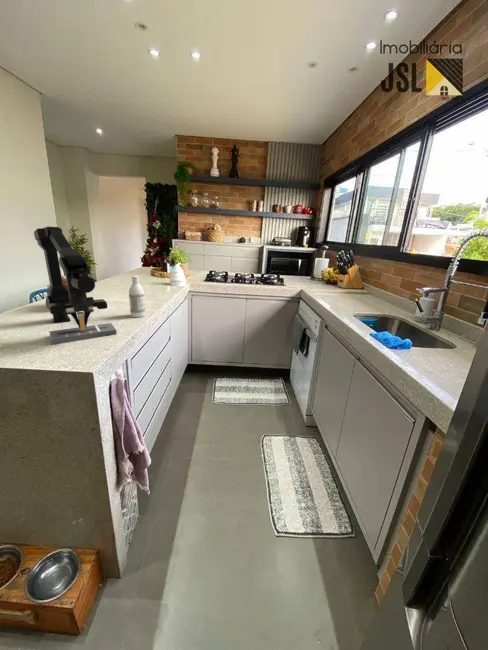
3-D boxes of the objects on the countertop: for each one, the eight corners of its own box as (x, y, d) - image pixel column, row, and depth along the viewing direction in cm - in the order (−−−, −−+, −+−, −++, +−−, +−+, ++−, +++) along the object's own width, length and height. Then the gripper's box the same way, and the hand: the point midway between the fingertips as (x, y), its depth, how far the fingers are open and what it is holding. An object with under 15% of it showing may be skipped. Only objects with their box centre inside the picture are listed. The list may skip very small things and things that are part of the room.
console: (50, 336, 104) (49, 330, 103) (111, 327, 116) (110, 322, 116) (51, 344, 96) (50, 339, 95) (116, 334, 109) (116, 329, 108)
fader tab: (79, 328, 106) (76, 312, 104) (85, 327, 107) (82, 311, 105) (80, 331, 103) (77, 314, 101) (86, 330, 105) (83, 313, 102)
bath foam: (129, 314, 135) (126, 275, 129) (143, 313, 139) (141, 275, 132) (132, 318, 130) (128, 277, 123) (146, 316, 133) (144, 277, 127)
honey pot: (181, 282, 228) (180, 261, 222) (188, 285, 219) (188, 263, 213) (167, 284, 220) (166, 261, 214) (174, 286, 211) (173, 263, 205)
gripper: (47, 294, 89) (55, 337, 94) (108, 290, 99) (112, 329, 104) (46, 288, 97) (53, 328, 102) (102, 285, 108) (106, 321, 113)
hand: (82, 327), depth 105 cm, fingers closed on fader tab, 2 cm apart
